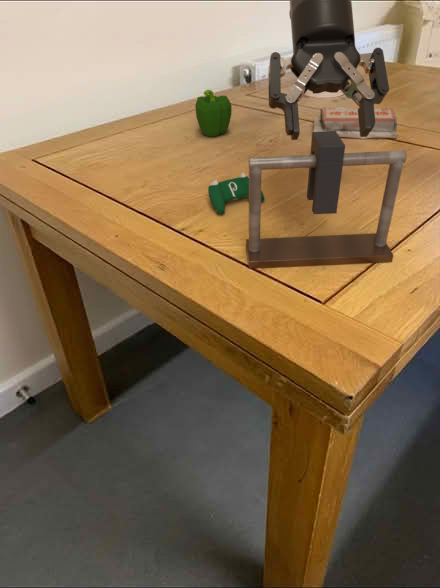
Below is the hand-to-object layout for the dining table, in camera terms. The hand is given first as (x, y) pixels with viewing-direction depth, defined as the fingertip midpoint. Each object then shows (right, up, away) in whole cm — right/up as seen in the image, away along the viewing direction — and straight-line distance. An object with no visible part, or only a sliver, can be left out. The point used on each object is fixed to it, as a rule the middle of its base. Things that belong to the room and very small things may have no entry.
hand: (330, 135), depth 56 cm
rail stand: (+1, -13, +11) cm, 17 cm away
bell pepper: (-15, +18, +53) cm, 58 cm away
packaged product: (+17, +18, +51) cm, 56 cm away
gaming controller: (-11, -4, +24) cm, 27 cm away
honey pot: (+16, +39, +77) cm, 88 cm away
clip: (0, -7, +6) cm, 9 cm away
